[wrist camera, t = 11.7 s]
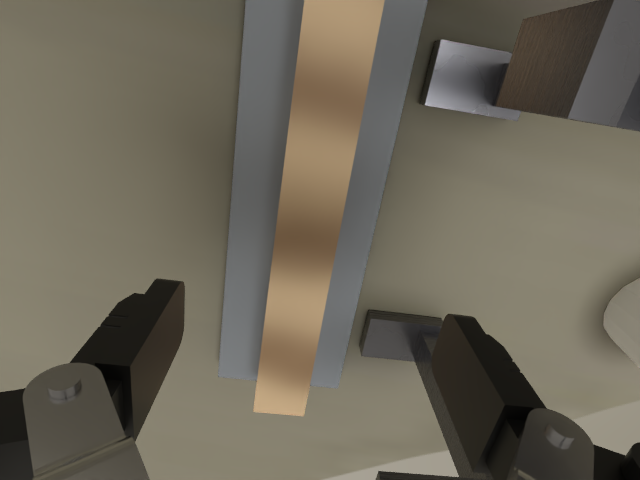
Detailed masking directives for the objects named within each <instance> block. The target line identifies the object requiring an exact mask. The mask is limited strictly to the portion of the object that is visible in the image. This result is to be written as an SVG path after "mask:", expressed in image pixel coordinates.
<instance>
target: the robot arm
mask: <svg viewBox="0 0 640 480" xmlns="http://www.w3.org/2000/svg"><path fill="white" fill-rule="evenodd" d="M184 300H185V286H184V282H182V281H174V280H166V279H156V280H155V281H154V282H153V283H152V285H151V286H150V287H149V289H148V290H147V292H146V293H145V294H137V293H134V294H132V295H130V296H129V297H127V298H125V299H124V300H122V301H120V302H119V303H118V304H117V305H116V306H115V308H114V309H113V310H112V311H111V312H110V314H109V317H106V319H105V320H104V321H103V322H102V324H101V326H100V327H98V328H97V330H96V331H95V332H94V333H93V335H92V336H91V337H90V338H89V340H88V341H87V342H86V343H85V344H84V346H83V347H82V348H81V349H80V351H79V352H78V353H77V354H76V356H75V357H74V358H73V359H72V360H71V362H70V363H68V364H63V365H59V366H56V367H53V368H51V369H49V370H46V371H45V372H43V373H41V374H39V375H38V376H37V377H35V378H34V379H33V380H32V381H31V382H30V383H29V384H28V385H27V387H26V388H25V389H19V390H13V391H6V392H0V480H150V479H149V477H148V474H147V472H146V469H145V466H144V464H143V461H142V459H141V456H140V454H139V451H138V448H137V446H136V444H135V441H136V439H137V436H138V434H139V432H140V430H141V428H142V426H143V424H144V421H145V419H146V417H147V415H148V413H149V411H150V409H151V406H152V404H153V402H154V400H155V398H156V396H157V394H158V391H159V389H160V387H161V385H162V383H163V381H164V378H165V376H166V374H167V372H168V370H169V368H170V366H171V363H172V361H173V359H174V357H175V355H176V353H177V351H178V348H179V346H180V343H181V340H182V336H183V331H184ZM512 360H513V359H512V358H511V357H510V355H509V354H508V352H507V351H506V349H505V348H504V347H503V346H502V345H501V344H500V343H499V342H497V341H496V340H495V339H494V338H493V337H491V336H490V335H487V334H485V332H484V331H483V329H482V328H481V326H480V325H479V323H478V322H477V320H476V319H475V318H474V317H472V316H463V315H455V314H448V315H447V316H446V317H445V319H444V321H443V324H442V327H441V330H440V333H439V336H438V339H437V342H436V345H435V347H434V350H433V354H432V361H431V365H432V372H433V375H434V378H435V380H436V382H437V385H438V387H439V390H440V392H441V395H442V397H443V400H444V402H445V405H446V407H447V410H448V412H449V415H450V417H451V419H452V422H453V424H454V427H455V429H456V432H457V434H458V437H459V439H460V442H461V444H462V447H463V449H464V452H465V454H466V457H467V459H468V461H469V464H470V466H471V469H472V471H473V472H474V473H486V474H491V475H492V477H493V479H494V480H640V443H636V444H634V445H633V446H632V448H631V449H630V450H629V452H628V453H627V455H626V456H625V455H622V454H619V453H616V452H613V451H610V450H608V449H605V448H602V447H599V446H596V445H593V443H592V442H591V440H590V438H589V436H588V435H587V434H586V433H585V431H584V430H583V429H582V428H580V426H578V425H577V424H576V423H575V422H573V421H572V420H571V419H569V418H568V417H566V416H564V415H562V414H560V413H558V412H555V411H553V410H549V409H547V408H546V407H545V405H544V404H543V402H542V401H541V400H540V398H539V397H538V395H537V394H536V392H535V391H534V390H533V388H532V387H531V385H530V384H529V382H528V381H527V380H526V378H525V377H524V375H523V374H522V373H520V369H519V368H518V367H517V365H516V364H515V362H512Z"/></svg>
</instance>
